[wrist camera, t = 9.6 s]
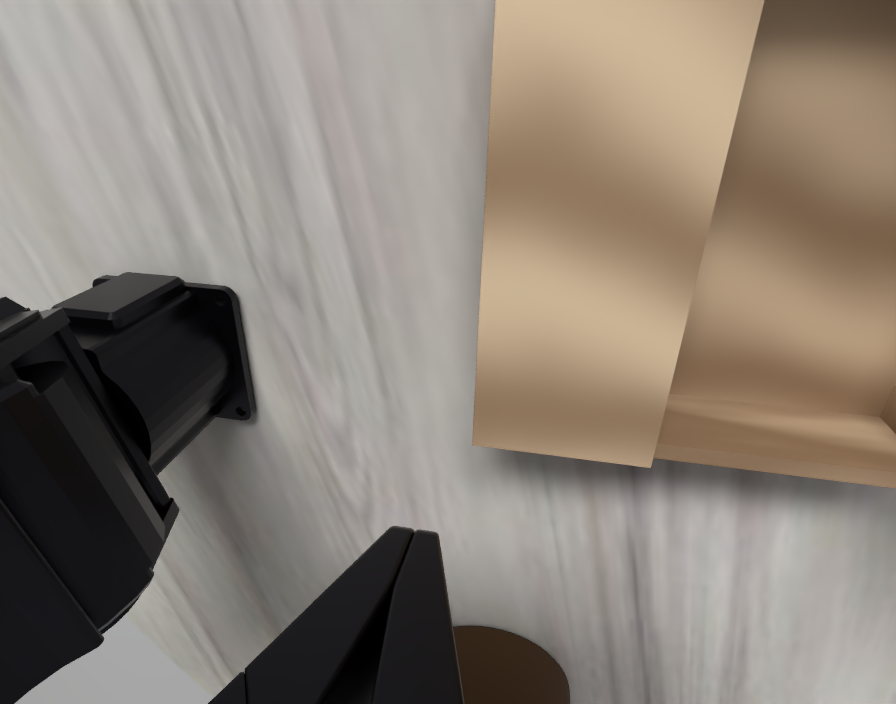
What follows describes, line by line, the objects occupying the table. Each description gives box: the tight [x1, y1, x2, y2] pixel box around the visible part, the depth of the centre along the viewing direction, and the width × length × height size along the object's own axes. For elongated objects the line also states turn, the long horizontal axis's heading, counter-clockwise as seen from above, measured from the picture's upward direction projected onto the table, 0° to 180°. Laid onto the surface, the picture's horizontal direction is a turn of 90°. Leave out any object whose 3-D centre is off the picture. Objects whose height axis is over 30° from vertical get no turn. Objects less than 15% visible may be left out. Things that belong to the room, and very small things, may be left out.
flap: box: [472, 0, 764, 468], centre depth 15 cm, size 16×6×1 cm, turn 179°
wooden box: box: [653, 0, 896, 488], centre depth 16 cm, size 16×15×4 cm
